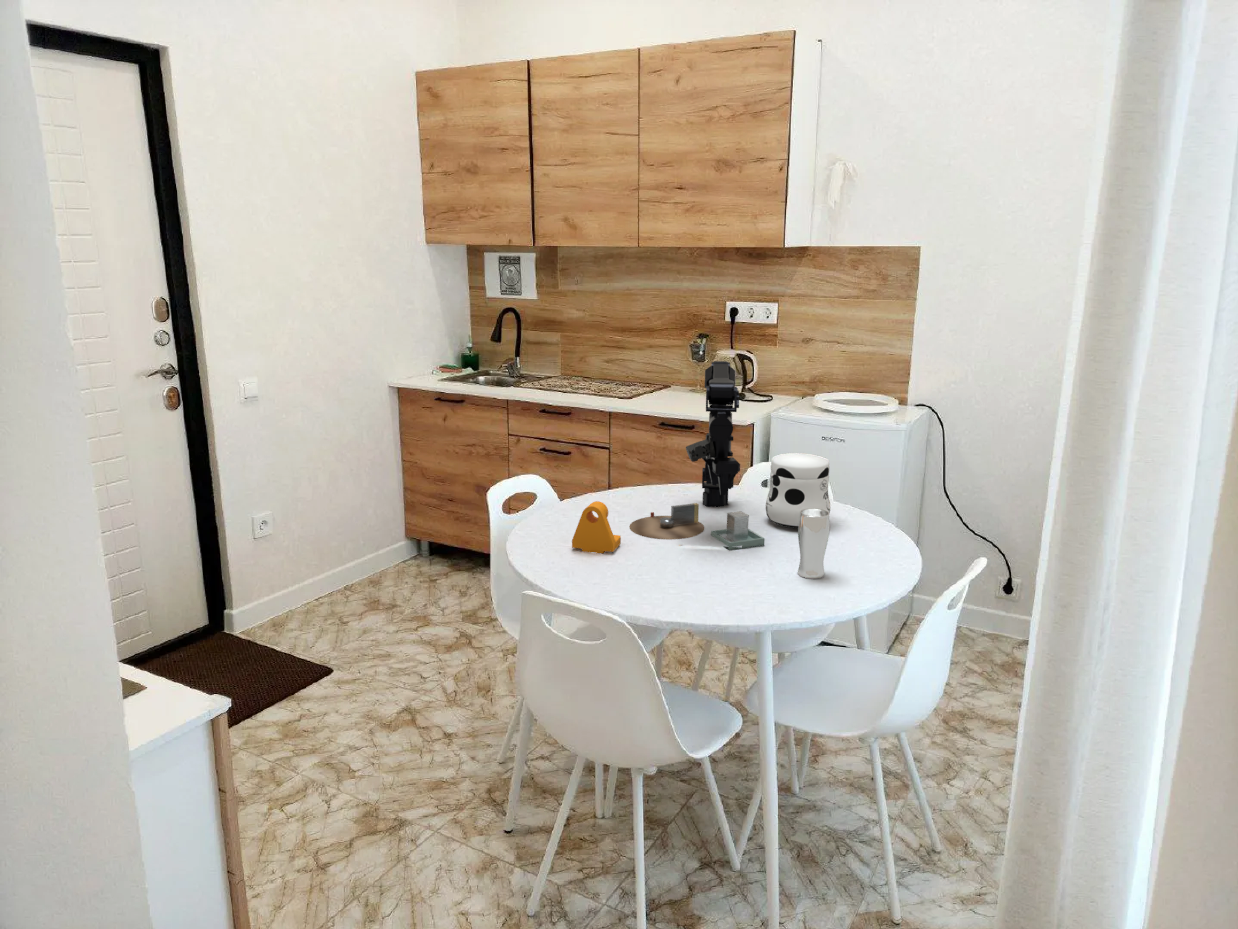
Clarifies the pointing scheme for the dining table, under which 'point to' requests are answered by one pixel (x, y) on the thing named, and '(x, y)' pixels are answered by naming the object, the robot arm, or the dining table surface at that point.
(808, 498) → the milk container
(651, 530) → the base
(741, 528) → the block
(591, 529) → the bracket
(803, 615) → the dining table surface
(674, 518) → the crank
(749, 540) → the tray
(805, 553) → the beer glass
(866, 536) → the dining table surface
